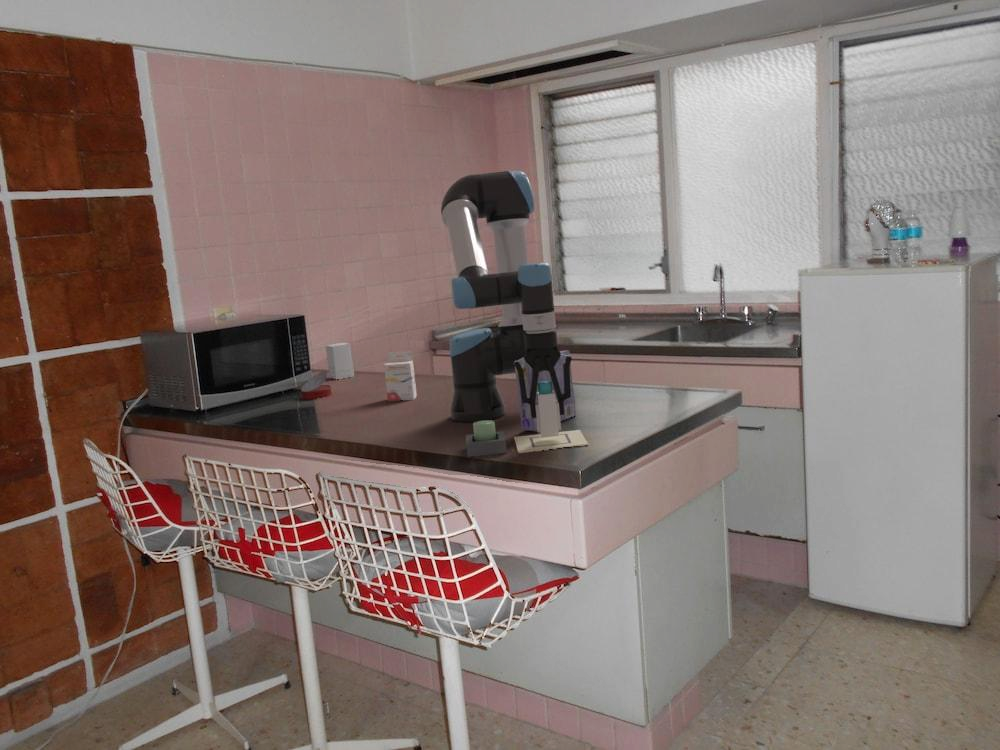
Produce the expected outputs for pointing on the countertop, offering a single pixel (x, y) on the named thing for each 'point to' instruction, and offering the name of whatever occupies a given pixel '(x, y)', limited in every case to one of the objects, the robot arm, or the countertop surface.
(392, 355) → the ink cartridge box
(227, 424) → the countertop surface
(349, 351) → the supplement box
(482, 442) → the button box
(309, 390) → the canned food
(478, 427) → the button
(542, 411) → the teal capped white bottle
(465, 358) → the robot arm
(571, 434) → the cream square mat
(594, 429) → the countertop surface
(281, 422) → the countertop surface
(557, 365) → the cake pan box
